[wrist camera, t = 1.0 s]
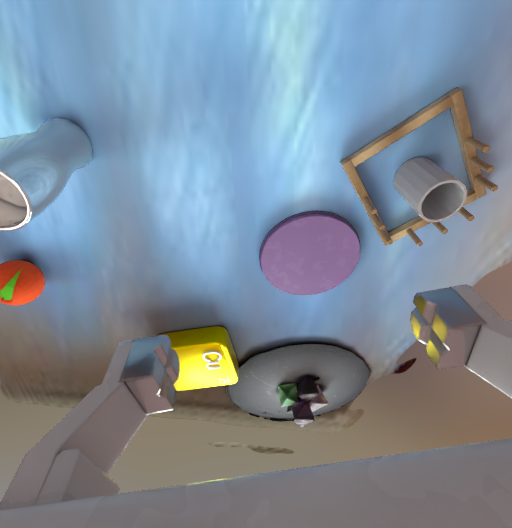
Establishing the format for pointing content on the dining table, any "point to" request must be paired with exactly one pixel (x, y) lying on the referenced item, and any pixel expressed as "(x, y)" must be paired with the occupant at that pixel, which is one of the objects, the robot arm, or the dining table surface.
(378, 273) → the dining table surface
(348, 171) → the drying rack
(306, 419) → the grey tray with blocks
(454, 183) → the steel cup
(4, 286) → the clementine
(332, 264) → the purple disc candle holder
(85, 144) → the beer glass
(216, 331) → the element tile
